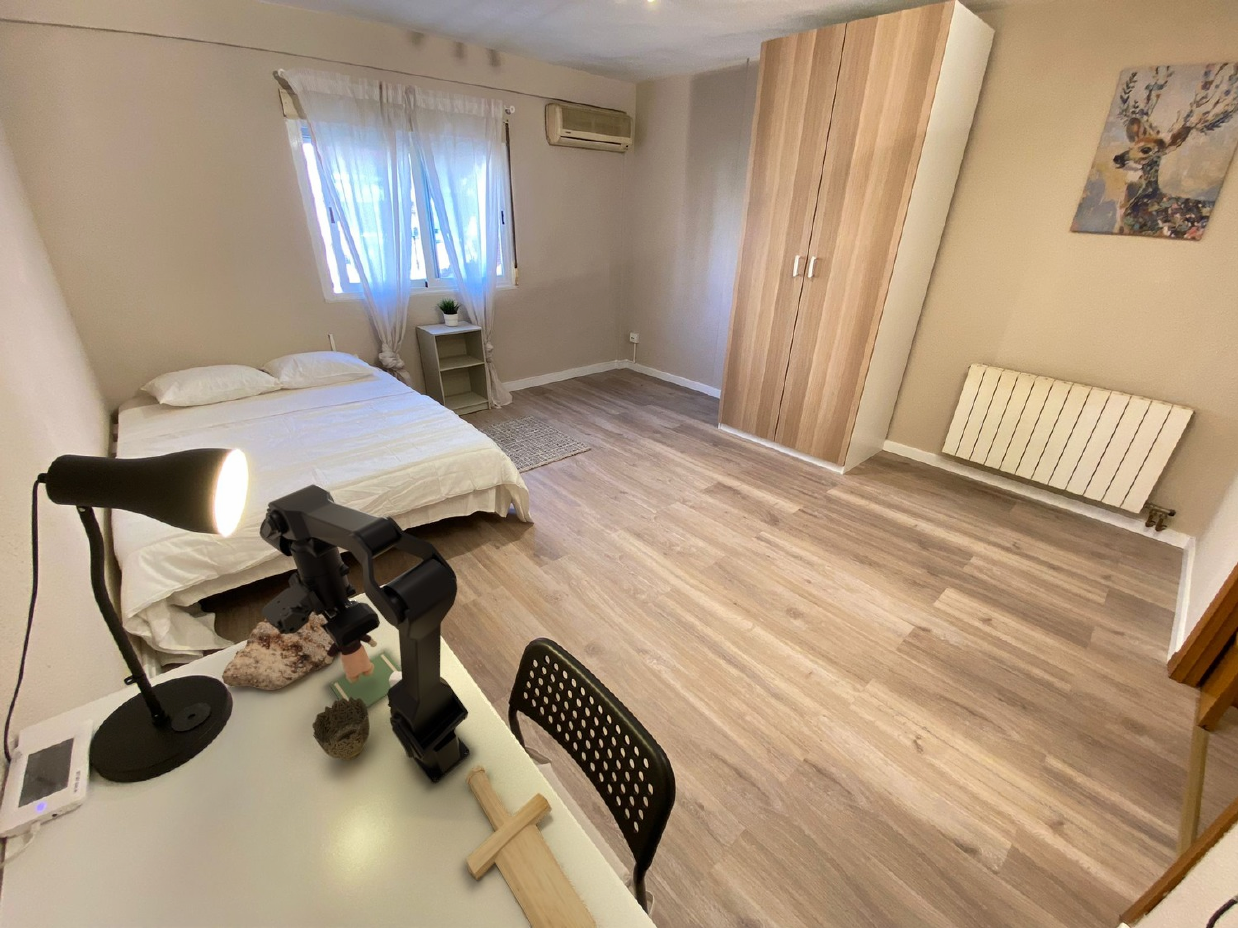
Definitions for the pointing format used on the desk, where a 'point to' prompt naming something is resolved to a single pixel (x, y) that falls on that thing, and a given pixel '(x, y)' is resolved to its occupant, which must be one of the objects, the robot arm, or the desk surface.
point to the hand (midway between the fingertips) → (345, 638)
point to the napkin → (368, 682)
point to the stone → (279, 655)
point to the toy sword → (526, 860)
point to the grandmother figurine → (353, 658)
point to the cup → (342, 728)
